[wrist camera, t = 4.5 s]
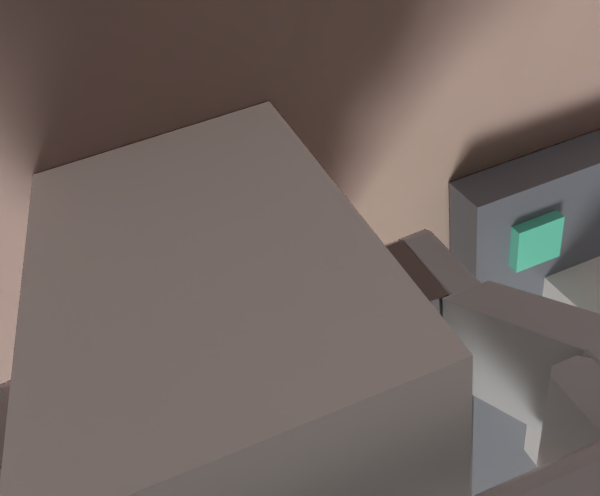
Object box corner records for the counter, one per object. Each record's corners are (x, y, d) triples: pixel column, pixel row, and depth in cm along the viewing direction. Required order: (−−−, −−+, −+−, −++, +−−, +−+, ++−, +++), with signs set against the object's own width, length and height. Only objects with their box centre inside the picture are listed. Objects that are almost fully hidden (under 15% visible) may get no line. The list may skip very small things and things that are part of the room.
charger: (32, 174, 10) (-8, 550, 5) (269, 101, 11) (472, 355, 5) (126, 344, 13) (168, 703, 8) (309, 278, 14) (468, 562, 8)
